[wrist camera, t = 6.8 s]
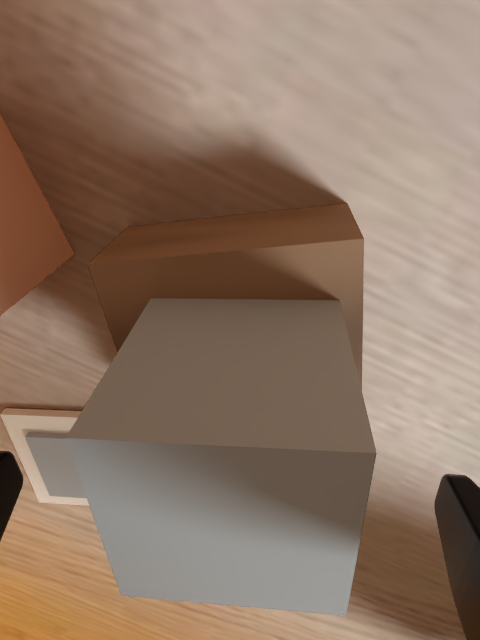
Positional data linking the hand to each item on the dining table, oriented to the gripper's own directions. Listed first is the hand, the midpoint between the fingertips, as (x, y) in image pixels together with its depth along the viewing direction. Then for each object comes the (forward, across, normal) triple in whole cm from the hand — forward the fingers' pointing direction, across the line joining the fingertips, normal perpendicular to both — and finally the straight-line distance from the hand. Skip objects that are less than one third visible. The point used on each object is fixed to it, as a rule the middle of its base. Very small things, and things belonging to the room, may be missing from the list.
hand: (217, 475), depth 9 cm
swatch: (+7, +8, +8) cm, 13 cm away
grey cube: (+4, 0, 0) cm, 4 cm away
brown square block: (+7, 0, 0) cm, 7 cm away
